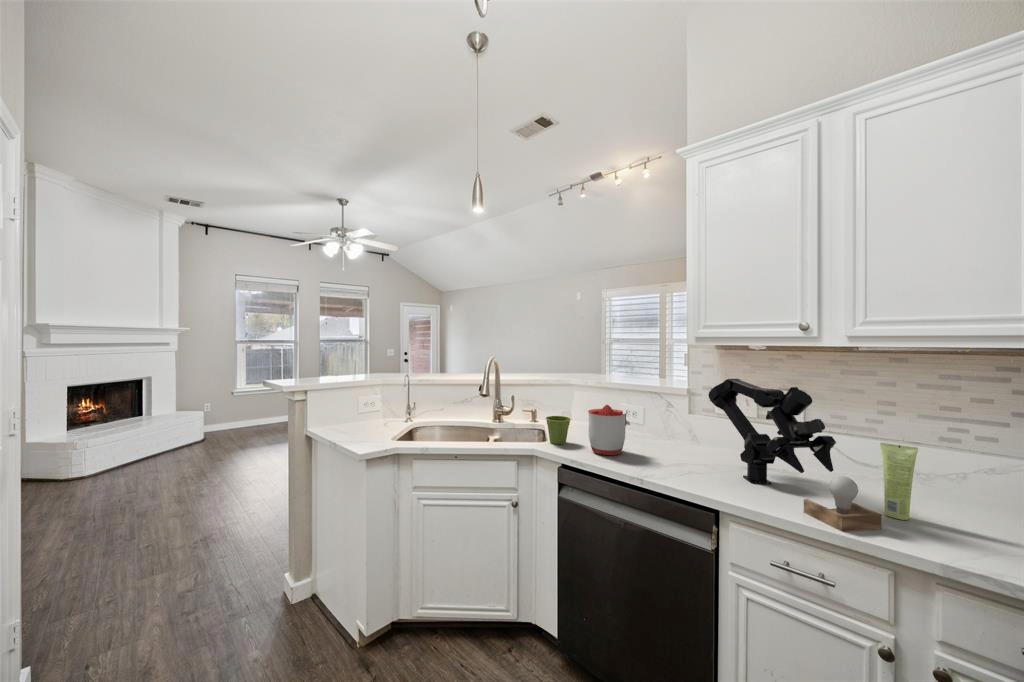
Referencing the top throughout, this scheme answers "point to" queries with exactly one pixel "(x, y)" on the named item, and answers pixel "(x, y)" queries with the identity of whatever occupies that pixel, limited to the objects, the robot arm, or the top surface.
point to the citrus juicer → (607, 430)
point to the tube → (898, 478)
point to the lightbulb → (843, 493)
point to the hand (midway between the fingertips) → (817, 471)
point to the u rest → (845, 517)
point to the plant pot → (558, 428)
